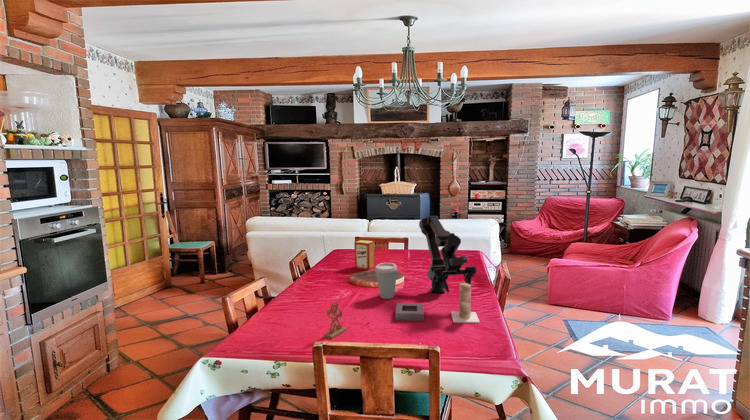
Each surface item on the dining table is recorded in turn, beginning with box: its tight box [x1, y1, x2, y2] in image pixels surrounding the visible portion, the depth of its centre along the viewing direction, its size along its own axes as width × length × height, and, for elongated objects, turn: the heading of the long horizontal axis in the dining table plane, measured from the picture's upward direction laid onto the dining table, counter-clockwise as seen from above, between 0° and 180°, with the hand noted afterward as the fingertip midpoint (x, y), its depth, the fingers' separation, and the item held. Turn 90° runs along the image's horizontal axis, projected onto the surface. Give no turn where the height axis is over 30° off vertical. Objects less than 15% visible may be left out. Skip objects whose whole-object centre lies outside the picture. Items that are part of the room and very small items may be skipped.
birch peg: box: [458, 282, 472, 319], centre depth 160 cm, size 4×4×13 cm
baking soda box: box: [354, 239, 376, 271], centre depth 235 cm, size 10×6×16 cm
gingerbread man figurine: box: [323, 301, 347, 340], centre depth 147 cm, size 9×4×12 cm, turn 147°
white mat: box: [450, 311, 480, 324], centre depth 161 cm, size 10×10×1 cm
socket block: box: [394, 302, 425, 322], centre depth 164 cm, size 11×11×3 cm
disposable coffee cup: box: [374, 262, 398, 299], centre depth 186 cm, size 11×11×15 cm
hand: (459, 291), depth 166 cm, fingers open, 9 cm apart
